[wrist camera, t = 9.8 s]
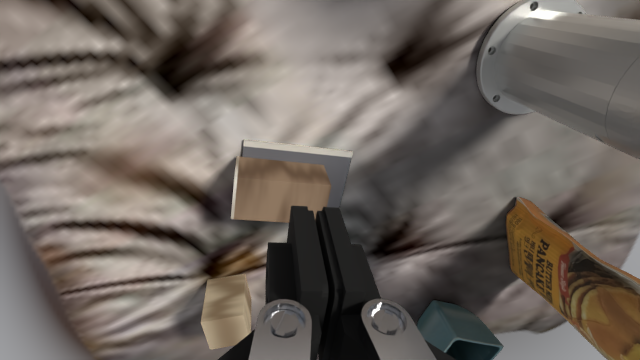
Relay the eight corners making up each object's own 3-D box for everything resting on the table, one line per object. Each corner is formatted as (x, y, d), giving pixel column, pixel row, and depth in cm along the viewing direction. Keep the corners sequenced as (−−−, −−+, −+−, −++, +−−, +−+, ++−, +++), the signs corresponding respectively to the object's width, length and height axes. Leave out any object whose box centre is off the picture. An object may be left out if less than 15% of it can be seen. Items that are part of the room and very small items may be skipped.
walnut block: (236, 156, 40) (323, 164, 43) (233, 194, 43) (316, 201, 45) (234, 177, 36) (331, 185, 38) (230, 219, 38) (322, 224, 40)
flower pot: (401, 327, 59) (422, 379, 52) (427, 288, 56) (455, 337, 48) (444, 334, 62) (471, 384, 54) (472, 297, 59) (505, 346, 51)
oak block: (245, 273, 49) (243, 314, 43) (251, 299, 52) (250, 342, 45) (207, 279, 49) (200, 322, 43) (215, 305, 51) (210, 349, 45)
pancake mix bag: (546, 176, 49) (832, 368, 25) (548, 271, 58) (756, 478, 34) (499, 194, 49) (736, 401, 25) (508, 286, 59) (687, 501, 34)
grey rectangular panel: (352, 151, 43) (352, 152, 42) (336, 214, 47) (337, 216, 46) (243, 139, 40) (243, 140, 40) (237, 208, 44) (237, 209, 44)
